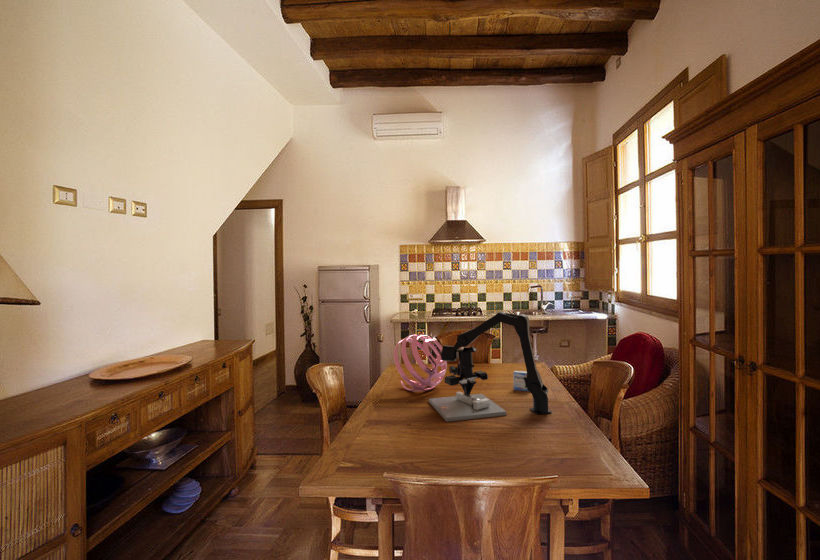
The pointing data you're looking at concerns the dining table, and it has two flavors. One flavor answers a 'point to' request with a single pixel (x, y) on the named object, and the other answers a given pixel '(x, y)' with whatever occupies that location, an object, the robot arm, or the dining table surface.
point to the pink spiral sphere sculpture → (421, 362)
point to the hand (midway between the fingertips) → (467, 397)
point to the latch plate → (464, 409)
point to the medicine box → (519, 381)
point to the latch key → (473, 400)
